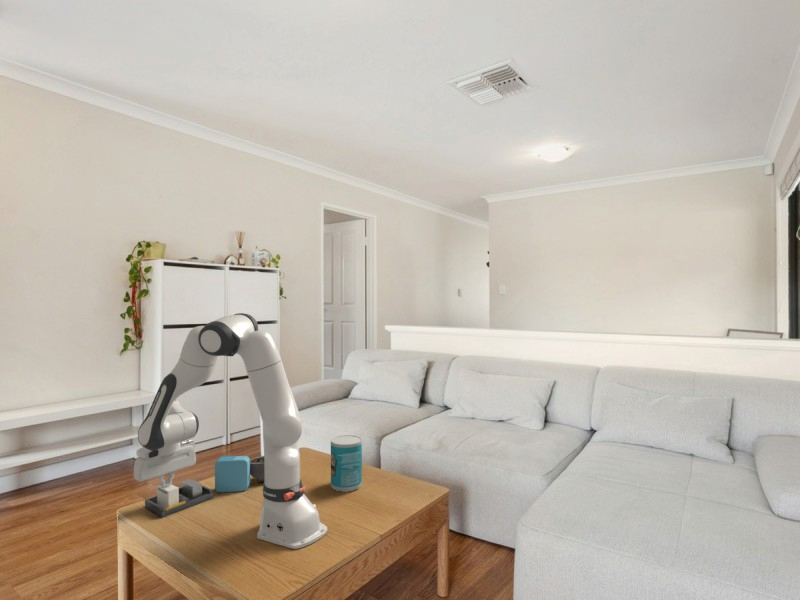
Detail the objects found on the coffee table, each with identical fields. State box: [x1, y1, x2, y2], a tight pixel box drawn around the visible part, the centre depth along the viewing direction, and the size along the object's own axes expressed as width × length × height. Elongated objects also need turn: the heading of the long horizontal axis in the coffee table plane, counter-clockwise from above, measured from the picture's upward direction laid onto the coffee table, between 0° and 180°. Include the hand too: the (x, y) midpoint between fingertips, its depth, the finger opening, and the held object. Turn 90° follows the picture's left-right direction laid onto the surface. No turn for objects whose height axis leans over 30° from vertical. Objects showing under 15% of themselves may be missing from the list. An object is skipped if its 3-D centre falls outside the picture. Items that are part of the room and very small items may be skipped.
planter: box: [250, 455, 265, 483], centre depth 184 cm, size 15×17×20 cm
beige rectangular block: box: [156, 483, 180, 508], centre depth 159 cm, size 8×4×6 cm, turn 54°
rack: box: [144, 478, 214, 519], centre depth 163 cm, size 12×18×6 cm, turn 143°
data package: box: [214, 455, 251, 493], centre depth 174 cm, size 12×4×12 cm, turn 96°
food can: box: [330, 434, 363, 493], centre depth 177 cm, size 12×12×18 cm
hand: (166, 485), depth 159 cm, fingers closed
